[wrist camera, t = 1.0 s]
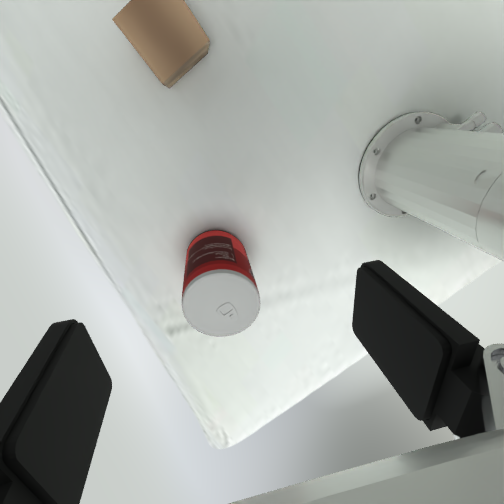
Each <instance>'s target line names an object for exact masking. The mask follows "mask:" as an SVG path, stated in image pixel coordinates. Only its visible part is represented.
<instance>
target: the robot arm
mask: <svg viewBox="0 0 504 504" xmlns="http://www.w3.org/2000/svg"><path fill="white" fill-rule="evenodd" d="M485 120H486V117H485V115H484V114H483V113H482V112H476V113H475V114H474V115H472V116H471V117H470V118H468V119H467V120H466V121H465V122H464V123H462V124H450V123H449V122H448V121H447V120H446V119H444V118H443V117H441V116H440V115H437V114H434V113H430V112H416V113H409V114H406V115H403V116H401V117H399V118H397V119H395V120H393V121H391V122H390V123H389V124H387V125H386V126H385V127H384V128H383V129H382V130H381V131H380V132H379V133H378V134H377V135H376V136H375V137H374V139H373V140H372V142H371V143H370V144H369V146H368V148H367V150H366V152H365V154H364V157H363V160H362V163H361V166H360V173H359V185H360V189H361V193H362V195H363V198H364V200H365V201H366V202H367V204H368V205H369V206H370V207H371V208H373V209H374V210H375V211H377V212H379V213H381V214H383V215H386V216H389V217H402V216H407V215H412V216H414V217H416V218H418V219H420V220H422V221H424V222H426V223H428V224H430V225H432V226H434V227H436V228H438V229H440V230H442V231H444V232H446V233H448V234H450V235H452V236H454V237H456V238H458V239H460V240H462V241H464V242H466V243H468V244H470V245H472V246H474V247H476V248H478V249H480V250H482V251H484V252H486V253H488V254H490V255H492V256H494V257H496V258H498V259H500V260H502V261H504V134H502V133H503V130H502V128H501V126H500V125H499V124H497V123H494V122H492V123H489V124H488V125H486V126H485V127H483V128H482V129H481V130H479V131H471V130H473V129H475V128H477V127H478V126H479V125H481V124H482V123H484V122H485ZM373 151H374V152H373ZM352 327H353V331H354V333H355V335H356V336H357V338H358V339H359V341H360V342H361V343H362V345H363V346H364V348H365V349H366V350H367V352H368V353H369V354H370V356H371V357H372V358H373V360H374V361H375V363H376V364H377V365H378V367H379V368H380V369H381V371H382V372H383V374H384V375H385V376H386V378H387V379H388V381H389V382H390V383H391V385H392V386H393V387H394V389H395V390H396V392H397V393H398V394H399V396H400V397H401V398H402V400H403V401H404V402H405V404H406V405H407V407H408V408H409V409H410V411H411V412H412V414H413V415H414V416H415V417H416V418H417V419H418V420H420V421H421V420H423V421H424V423H425V424H426V426H427V427H428V429H429V430H430V431H432V430H435V429H439V428H442V427H446V426H448V428H449V429H450V430H451V431H452V432H453V434H454V440H453V441H449V442H445V443H441V444H438V445H433V446H429V447H426V448H422V449H418V450H415V451H411V452H408V453H404V454H401V455H397V456H394V457H390V458H387V459H383V460H379V461H376V462H373V463H369V464H366V465H362V466H358V467H355V468H351V469H348V470H344V471H341V472H337V473H334V474H330V475H326V476H323V477H319V478H316V479H312V480H309V481H305V482H302V483H299V484H295V485H292V486H288V487H285V488H281V489H278V490H274V491H271V492H267V493H264V494H260V495H257V496H254V497H250V498H246V499H243V500H240V501H236V502H233V503H230V504H504V344H493V345H490V346H487V347H486V349H484V348H483V347H482V346H481V345H479V341H480V340H479V339H478V338H477V337H475V336H474V335H473V334H472V333H471V332H469V331H468V330H467V329H466V328H464V327H463V326H462V325H461V324H459V323H458V322H457V321H455V320H454V319H453V318H452V317H450V316H449V315H448V314H447V313H445V312H444V311H443V310H442V309H441V308H439V307H438V306H437V305H436V304H434V303H433V302H432V301H431V300H429V299H428V298H427V297H426V296H424V295H423V294H422V293H421V292H419V291H418V290H417V289H416V288H414V287H413V286H412V285H411V284H409V283H408V282H407V281H406V280H404V279H403V278H402V277H401V276H399V275H398V274H397V273H396V272H394V271H393V270H392V269H391V268H389V267H388V266H387V265H386V264H384V263H383V262H382V261H380V260H376V261H371V262H366V263H363V264H362V265H361V268H358V270H357V277H356V288H355V299H354V310H353V322H352ZM111 389H112V381H111V378H110V376H109V374H108V372H107V370H106V368H105V366H104V364H103V362H102V360H101V358H100V356H99V354H98V352H97V350H96V348H95V346H94V344H93V342H92V340H91V338H90V336H89V334H88V332H87V330H86V328H85V326H84V324H83V323H78V322H77V321H76V320H74V319H72V320H67V321H62V322H56V323H53V324H52V325H51V326H50V327H49V329H48V330H47V332H46V333H45V335H44V336H43V338H42V340H41V341H40V343H39V344H38V346H37V347H36V349H35V350H34V352H33V354H32V355H31V357H30V358H29V360H28V361H27V363H26V364H25V366H24V367H23V369H22V370H21V372H20V373H19V375H18V376H17V378H16V380H15V381H14V383H13V384H12V386H11V387H10V389H9V391H8V392H7V393H6V395H5V396H4V398H3V400H2V401H1V403H0V504H79V503H80V499H81V496H82V492H83V489H84V485H85V481H86V478H87V475H88V471H89V468H90V464H91V460H92V457H93V453H94V449H95V446H96V443H97V439H98V436H99V432H100V428H101V425H102V422H103V418H104V415H105V411H106V407H107V404H108V401H109V397H110V393H111Z"/></svg>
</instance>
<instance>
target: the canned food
mask: <svg viewBox="0 0 504 504" xmlns="http://www.w3.org/2000/svg"><path fill="white" fill-rule="evenodd" d="M182 309H183V313H184V316H185V318H186V320H187V322H188V323H189V324H190V325H191V326H192V327H193V328H195V329H196V330H197V331H199V332H201V333H203V334H206V335H210V336H217V337H222V336H230V335H234V334H237V333H240V332H241V331H243V330H245V329H246V328H248V327H249V326H250V325H251V324H252V323H253V322H254V321H255V319H256V317H257V316H258V313H259V310H260V296H259V292H258V288H257V285H256V282H255V279H254V276H253V273H252V270H251V266H250V263H249V260H248V257H247V254H246V251H245V249H244V246H243V245H242V243H241V242H240V241H239V240H238V239H237V238H236V237H234V236H233V235H231V234H229V233H227V232H224V231H220V230H212V231H207V232H204V233H202V234H200V235H199V236H197V237H196V238H195V239H194V240H193V241H192V242H191V244H190V245H189V248H188V250H187V255H186V264H185V273H184V282H183V292H182Z"/></svg>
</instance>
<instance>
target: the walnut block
mask: <svg viewBox="0 0 504 504" xmlns="http://www.w3.org/2000/svg"><path fill="white" fill-rule="evenodd" d="M112 20H113V21H114V22H115V24H116V25H117V26H118V27H119V29H120V30H121V31H122V33H123V34H124V35H125V36H126V38H127V39H128V40H129V42H130V43H131V44H132V45H133V47H134V48H135V49H136V51H137V52H138V53H139V54H140V56H141V57H142V58H143V60H144V61H145V62H146V63H147V65H148V66H149V67H150V69H151V70H152V71H153V72H154V74H155V75H156V76H157V78H158V79H159V80H160V81H161V83H162V84H163V85H165V86H166V87H168V88H170V87H171V86H173V85H174V84H175V83H176V82H177V81H178V80H179V79H180V78H181V77H182V76H184V75H185V74H186V73H187V72H188V71H189V70H190V69H191V68H192V67H193V66H195V65H196V64H197V63H198V62H199V61H200V60H201V59H202V58H203V57H204V56H206V55H207V54H208V49H209V42H210V40H209V38H208V37H207V35H206V34H205V32H204V30H203V29H202V27H201V26H200V24H199V23H198V21H197V20H196V18H195V17H194V15H193V14H192V12H191V10H190V9H189V7H188V6H187V4H186V3H185V1H184V0H131V1H130V2H129V3H128V4H127V5H126V6H125V7H124V8H123V9H122V10H121V11H120V12H119V13H118V14H117V15H116V16H115V17H114V18H113V19H112Z"/></svg>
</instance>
